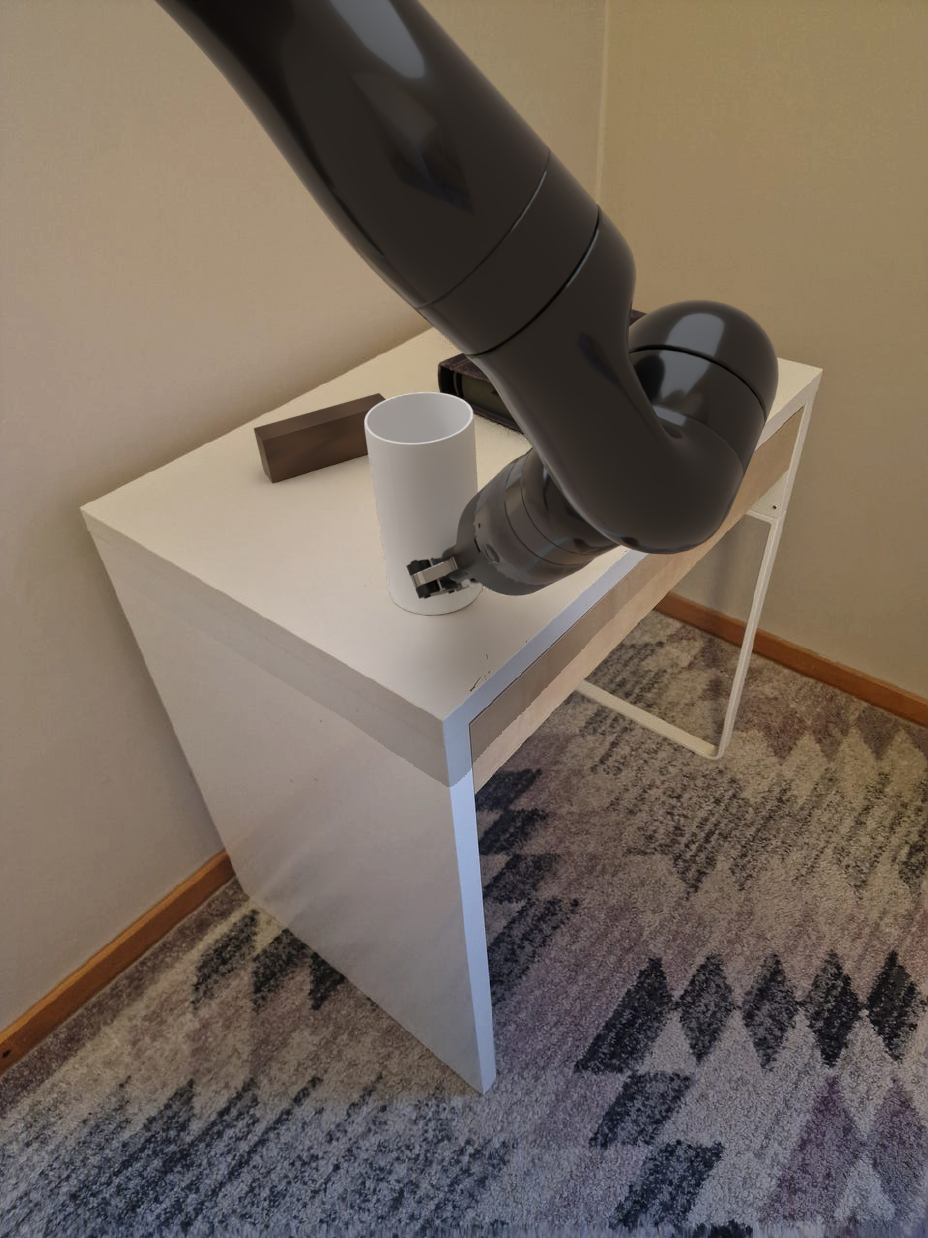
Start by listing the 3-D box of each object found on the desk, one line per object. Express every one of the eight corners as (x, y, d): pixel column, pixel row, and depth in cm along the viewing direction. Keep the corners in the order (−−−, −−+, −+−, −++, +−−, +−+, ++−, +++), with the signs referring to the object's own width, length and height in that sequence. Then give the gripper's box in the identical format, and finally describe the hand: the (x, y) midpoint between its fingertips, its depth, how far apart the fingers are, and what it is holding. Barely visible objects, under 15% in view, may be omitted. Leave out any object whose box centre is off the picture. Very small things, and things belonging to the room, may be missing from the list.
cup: (500, 571, 75) (493, 403, 64) (450, 626, 70) (435, 454, 59) (421, 546, 78) (404, 383, 68) (369, 597, 73) (341, 429, 63)
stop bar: (272, 483, 88) (262, 440, 85) (263, 470, 90) (253, 427, 87) (395, 445, 93) (390, 403, 89) (384, 434, 95) (379, 392, 91)
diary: (437, 398, 100) (433, 358, 97) (574, 330, 113) (575, 292, 110) (558, 450, 90) (559, 407, 87) (694, 369, 102) (700, 328, 99)
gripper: (603, 436, 54) (513, 508, 70) (414, 498, 50) (365, 559, 66) (647, 546, 54) (546, 593, 70) (461, 617, 50) (400, 649, 66)
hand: (458, 576), depth 68 cm, fingers closed
